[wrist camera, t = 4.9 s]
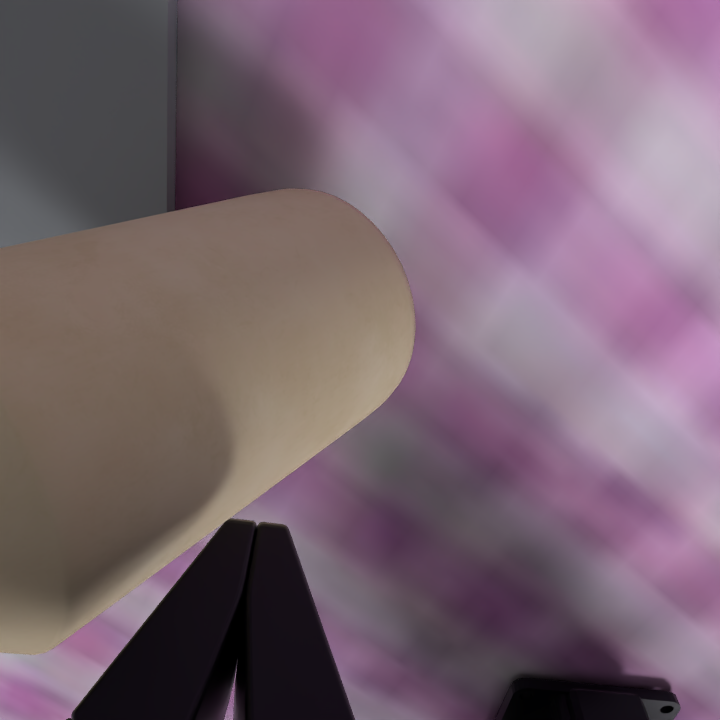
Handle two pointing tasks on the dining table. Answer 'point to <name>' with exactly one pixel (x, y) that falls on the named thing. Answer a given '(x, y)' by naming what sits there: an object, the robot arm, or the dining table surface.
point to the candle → (176, 385)
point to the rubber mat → (85, 114)
